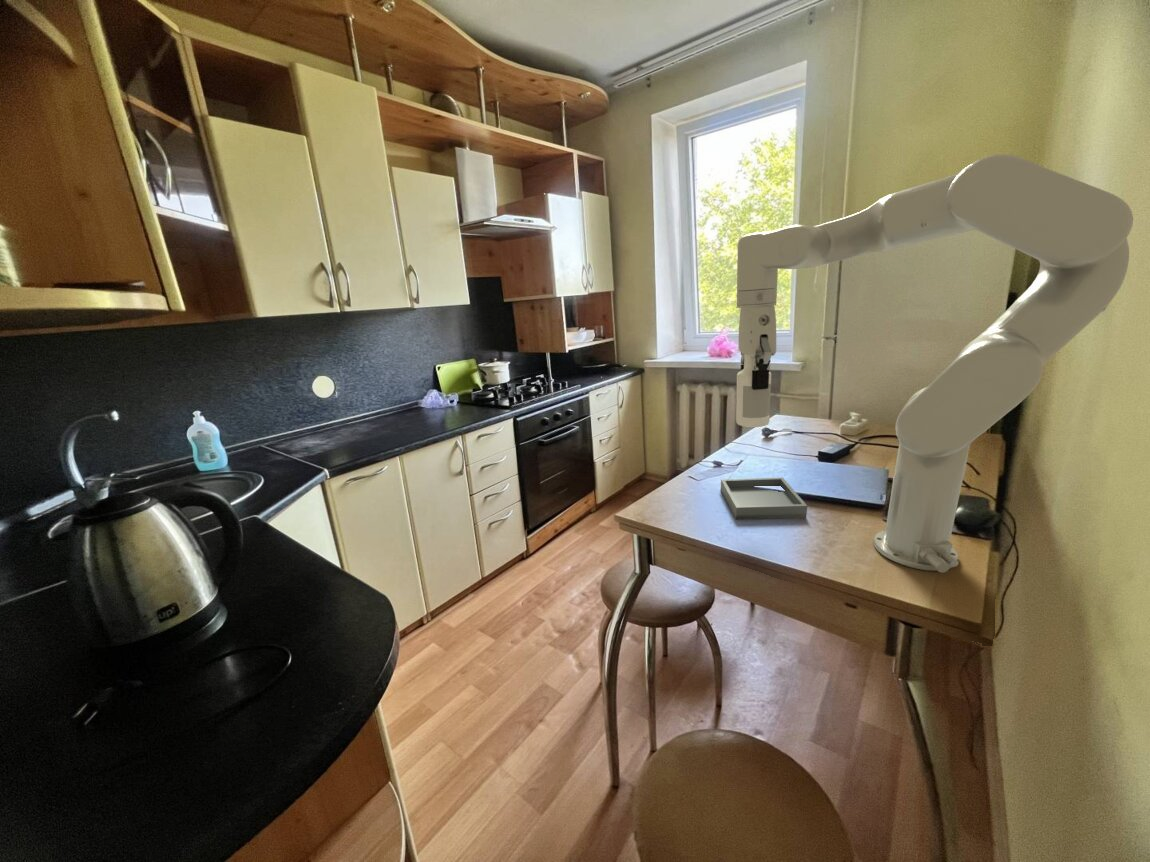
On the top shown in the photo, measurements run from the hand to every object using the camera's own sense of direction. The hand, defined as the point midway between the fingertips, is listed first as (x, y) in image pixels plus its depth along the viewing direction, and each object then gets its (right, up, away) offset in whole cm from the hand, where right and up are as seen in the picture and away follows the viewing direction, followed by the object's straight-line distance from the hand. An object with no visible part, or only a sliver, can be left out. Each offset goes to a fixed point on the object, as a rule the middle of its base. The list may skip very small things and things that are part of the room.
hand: (753, 384), depth 96 cm
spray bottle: (+1, -8, +3) cm, 9 cm away
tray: (+6, -27, +10) cm, 29 cm away
